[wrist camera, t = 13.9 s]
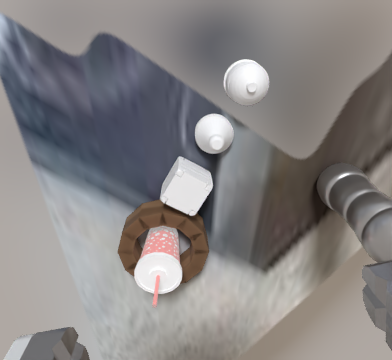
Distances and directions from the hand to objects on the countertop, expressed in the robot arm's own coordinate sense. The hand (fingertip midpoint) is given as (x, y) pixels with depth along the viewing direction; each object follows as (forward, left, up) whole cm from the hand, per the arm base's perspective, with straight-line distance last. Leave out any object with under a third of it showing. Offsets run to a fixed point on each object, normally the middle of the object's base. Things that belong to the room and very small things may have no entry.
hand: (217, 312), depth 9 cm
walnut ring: (+9, +19, -34) cm, 40 cm away
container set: (-2, +5, -35) cm, 35 cm away
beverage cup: (+9, +19, -34) cm, 40 cm away
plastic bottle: (-17, +16, -34) cm, 41 cm away
